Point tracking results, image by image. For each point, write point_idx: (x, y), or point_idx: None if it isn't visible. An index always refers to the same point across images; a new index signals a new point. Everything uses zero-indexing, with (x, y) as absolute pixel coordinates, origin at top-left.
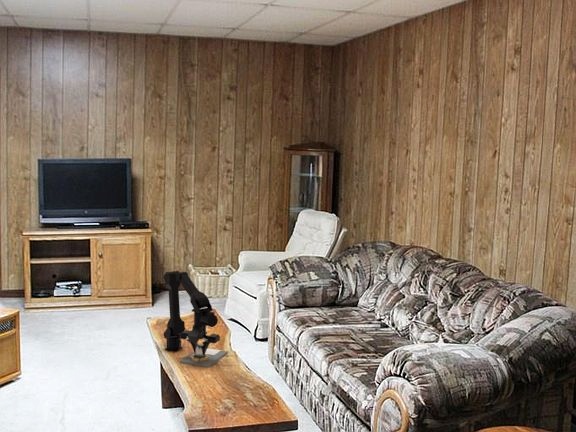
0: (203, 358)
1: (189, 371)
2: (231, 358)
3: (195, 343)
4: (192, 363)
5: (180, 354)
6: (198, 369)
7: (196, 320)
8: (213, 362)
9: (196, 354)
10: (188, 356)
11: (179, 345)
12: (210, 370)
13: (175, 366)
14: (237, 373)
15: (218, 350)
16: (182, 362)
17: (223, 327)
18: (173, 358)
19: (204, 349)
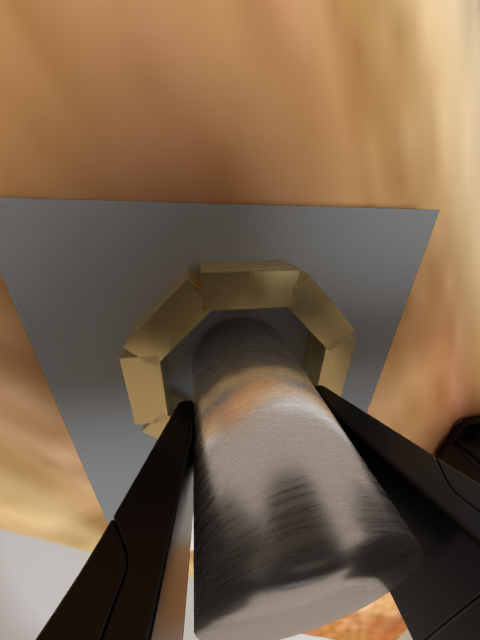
0: (153, 337)
1: None
2: (22, 510)
3: (446, 598)
4: (264, 206)
5: (427, 399)
6: (63, 8)
7: None
8: (46, 359)
9: (284, 360)
10: (368, 371)
11: (474, 476)
12: None
13: (457, 43)
14: None
15: (191, 545)
16: (394, 209)
17: (310, 634)
18: (476, 308)
19: (135, 500)
